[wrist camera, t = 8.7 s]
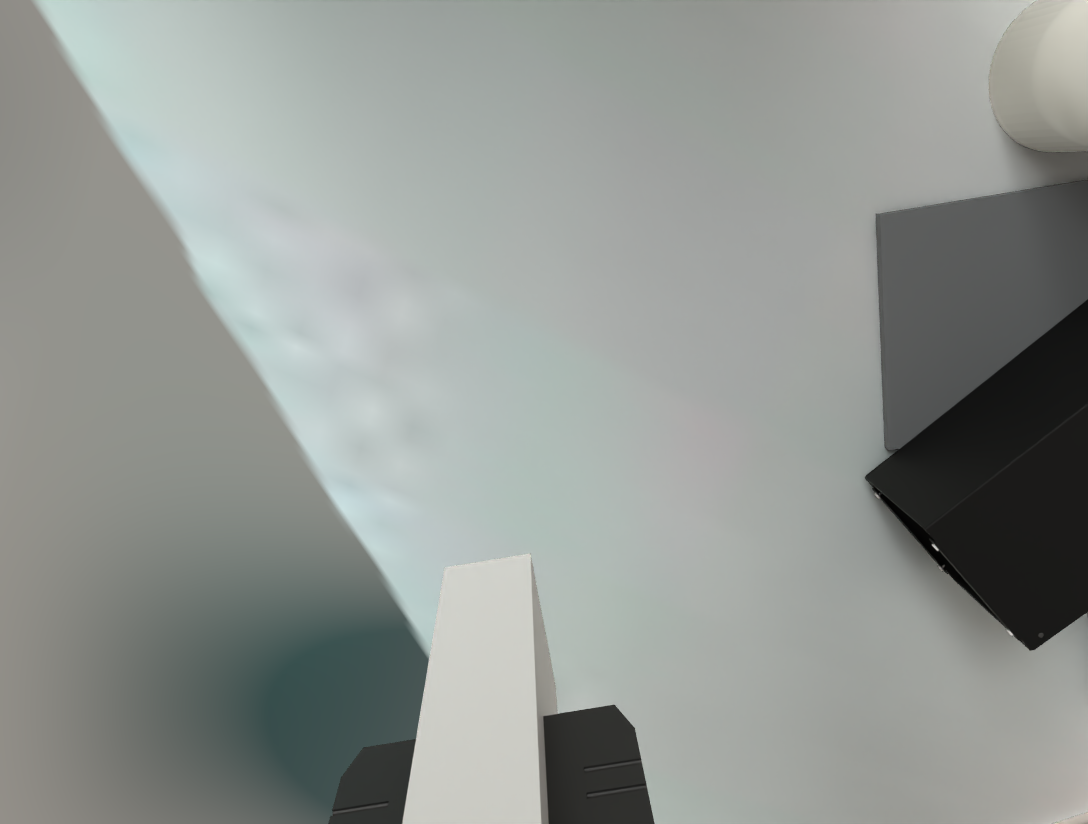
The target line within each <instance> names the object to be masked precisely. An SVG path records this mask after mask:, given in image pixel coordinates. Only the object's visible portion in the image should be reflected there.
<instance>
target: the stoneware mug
mask: <svg viewBox="0 0 1088 824" xmlns="http://www.w3.org/2000/svg"><path fill="white" fill-rule="evenodd" d="M989 98H990V103H991V107H992V110H993V113H994V115H995V117H996V119H997V121H998V123H999V125H1000V126H1001V127H1002V129H1003V130H1004V131H1005V133H1006V134H1007V135H1008V136H1010V137H1011V138H1012V139H1013V140H1014V141H1016V142H1017V143H1019V144H1021V145H1023V146H1025V147H1027V148H1030V149H1033V150H1036V151H1042V152H1080V151H1088V0H1037V1H1036V2H1034V3H1033V4H1031V5H1030V6H1029V7H1027V8H1026V9H1025V10H1024V11H1023V12H1022V13H1021V14H1019V15H1018V16H1017V17H1016V19H1015V20H1014V21H1013V22H1012V23H1011V24H1010V26H1009V27H1008V28H1007V30H1006V31H1005V33H1004V34H1003V36H1002V38H1001V40H1000V42H999V43H998V46H997V48H996V50H995V53H994V56H993V59H992V63H991V67H990V73H989Z"/></svg>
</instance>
